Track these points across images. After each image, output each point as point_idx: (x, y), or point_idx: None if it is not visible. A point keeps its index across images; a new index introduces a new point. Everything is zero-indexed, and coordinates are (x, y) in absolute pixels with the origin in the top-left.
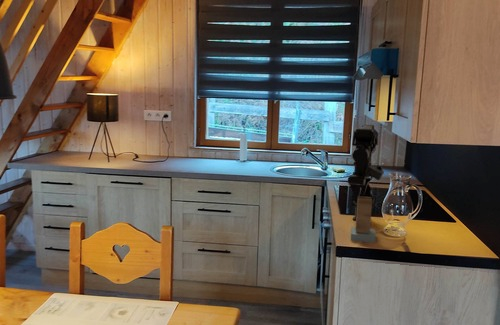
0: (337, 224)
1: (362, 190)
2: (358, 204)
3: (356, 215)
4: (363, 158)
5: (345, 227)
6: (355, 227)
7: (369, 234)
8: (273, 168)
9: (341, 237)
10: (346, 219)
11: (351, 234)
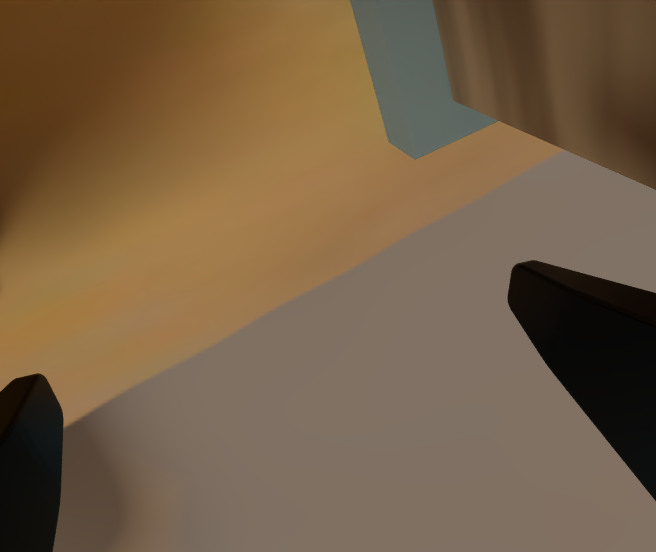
0: (230, 324)
1: (25, 501)
2: None
3: (544, 131)
4: None
5: (262, 245)
6: (413, 117)
7: None
8: None
9: (511, 157)
10: (24, 348)
11: None
